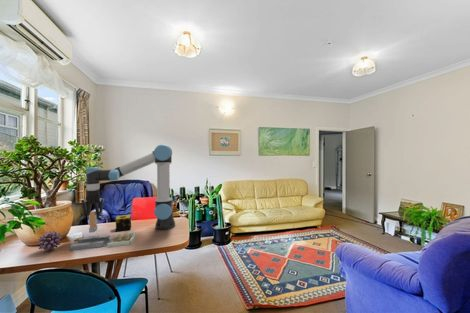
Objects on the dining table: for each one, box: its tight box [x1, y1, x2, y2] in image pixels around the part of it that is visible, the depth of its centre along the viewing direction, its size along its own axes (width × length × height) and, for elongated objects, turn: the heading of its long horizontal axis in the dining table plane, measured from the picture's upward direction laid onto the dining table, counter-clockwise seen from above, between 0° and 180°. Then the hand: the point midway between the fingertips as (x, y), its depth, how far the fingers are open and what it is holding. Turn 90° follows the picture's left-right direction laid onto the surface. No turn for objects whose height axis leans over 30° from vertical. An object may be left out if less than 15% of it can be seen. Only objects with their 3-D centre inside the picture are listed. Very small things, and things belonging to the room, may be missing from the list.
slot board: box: [69, 234, 114, 252], centre depth 132 cm, size 20×14×4 cm
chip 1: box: [113, 233, 124, 242], centre depth 136 cm, size 4×4×4 cm
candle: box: [115, 214, 132, 233], centre depth 162 cm, size 10×10×10 cm
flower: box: [36, 230, 64, 253], centre depth 126 cm, size 12×12×12 cm
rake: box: [88, 210, 98, 233], centre depth 143 cm, size 3×6×13 cm, turn 16°
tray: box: [107, 232, 137, 248], centre depth 137 cm, size 13×16×3 cm
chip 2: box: [121, 233, 131, 242], centre depth 137 cm, size 4×4×4 cm
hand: (93, 224), depth 143 cm, fingers closed on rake, 3 cm apart
